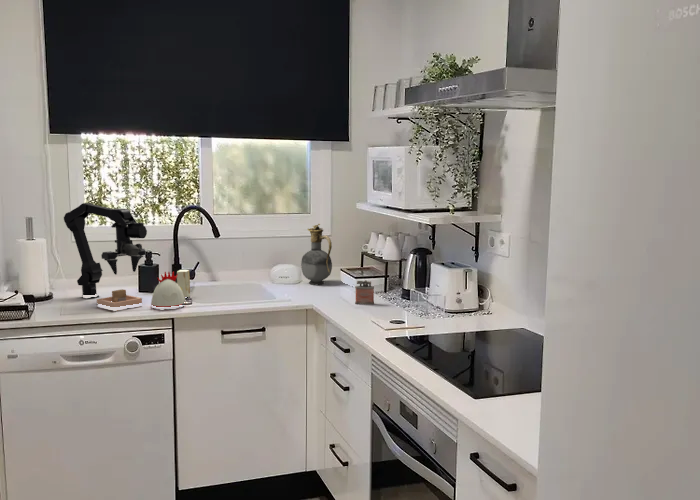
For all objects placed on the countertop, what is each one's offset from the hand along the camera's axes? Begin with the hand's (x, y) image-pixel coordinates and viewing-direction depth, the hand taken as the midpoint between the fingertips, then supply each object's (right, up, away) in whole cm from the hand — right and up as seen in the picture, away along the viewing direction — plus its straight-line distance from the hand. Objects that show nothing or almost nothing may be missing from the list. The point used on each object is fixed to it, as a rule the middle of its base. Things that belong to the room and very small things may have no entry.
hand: (125, 273), depth 293 cm
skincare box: (+24, -11, +6) cm, 28 cm away
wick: (+2, -13, -13) cm, 18 cm away
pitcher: (+83, -7, +37) cm, 92 cm away
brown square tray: (+2, -14, -13) cm, 19 cm away
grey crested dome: (+22, -14, -12) cm, 29 cm away
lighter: (+105, -13, -9) cm, 106 cm away
